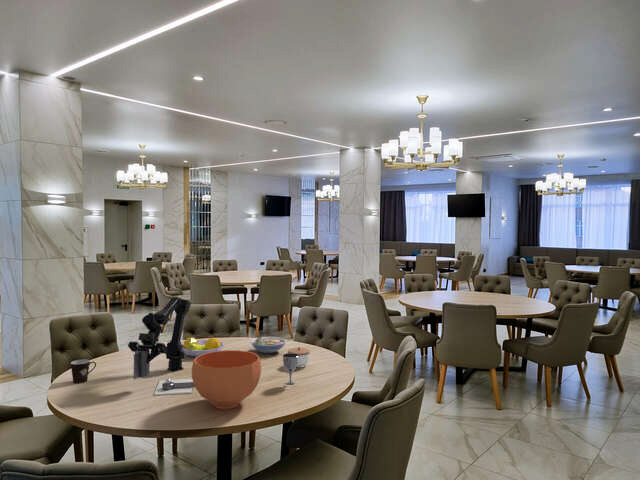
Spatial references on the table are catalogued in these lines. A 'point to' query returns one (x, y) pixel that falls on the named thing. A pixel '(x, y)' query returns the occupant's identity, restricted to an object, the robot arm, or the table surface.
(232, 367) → the flowerpot
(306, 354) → the lidded bowl
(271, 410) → the table surface
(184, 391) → the hinge base
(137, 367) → the loose hinge half
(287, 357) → the wine glass
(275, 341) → the ramen bowl
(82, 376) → the coffee mug
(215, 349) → the fruit bowl
